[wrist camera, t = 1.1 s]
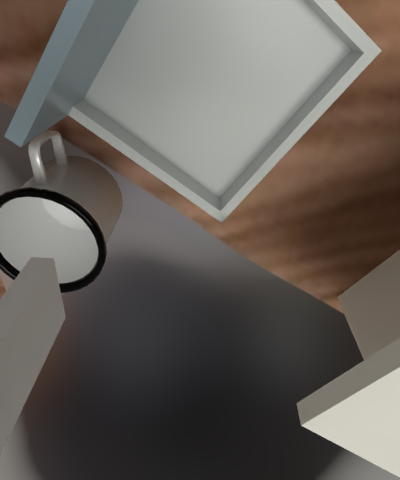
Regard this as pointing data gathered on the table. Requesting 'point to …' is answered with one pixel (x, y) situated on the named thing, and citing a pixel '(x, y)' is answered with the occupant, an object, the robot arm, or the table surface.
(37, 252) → the mug
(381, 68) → the table surface
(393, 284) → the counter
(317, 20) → the tray
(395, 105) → the table surface
